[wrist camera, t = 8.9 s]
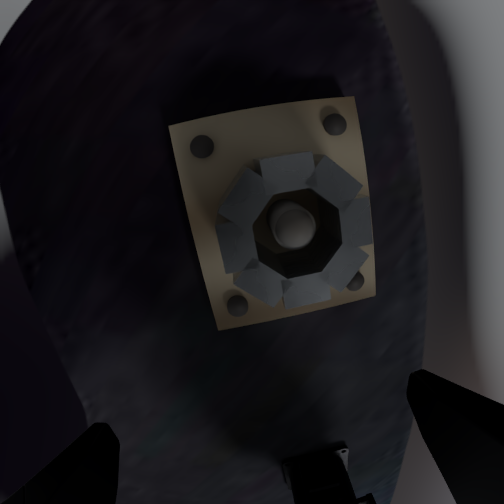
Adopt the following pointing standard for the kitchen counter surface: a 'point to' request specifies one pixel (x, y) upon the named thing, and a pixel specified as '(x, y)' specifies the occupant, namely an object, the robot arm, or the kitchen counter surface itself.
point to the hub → (312, 255)
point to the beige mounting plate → (280, 205)
